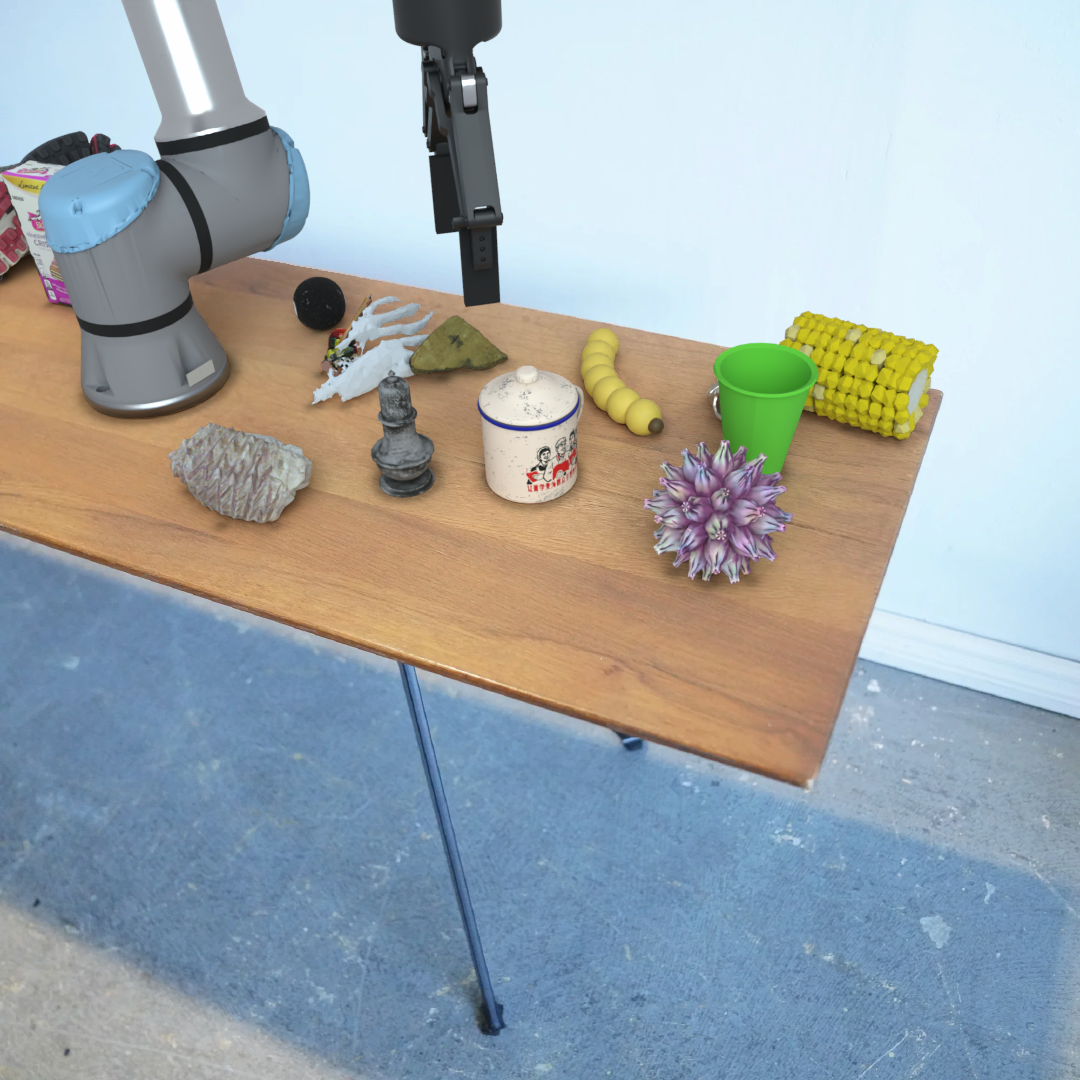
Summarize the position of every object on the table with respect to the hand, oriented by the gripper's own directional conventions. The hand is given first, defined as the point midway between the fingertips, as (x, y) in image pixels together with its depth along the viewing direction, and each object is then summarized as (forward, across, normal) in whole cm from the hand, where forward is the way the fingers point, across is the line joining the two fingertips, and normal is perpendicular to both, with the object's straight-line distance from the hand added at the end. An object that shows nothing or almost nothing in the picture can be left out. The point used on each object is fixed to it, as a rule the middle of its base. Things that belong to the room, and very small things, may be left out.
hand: (465, 265), depth 83 cm
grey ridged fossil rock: (+22, +3, +22) cm, 31 cm away
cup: (+21, -7, -25) cm, 33 cm away
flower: (+21, -18, -16) cm, 32 cm away
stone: (+22, +19, -1) cm, 29 cm away
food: (+16, -4, -34) cm, 38 cm away
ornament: (+20, +3, -28) cm, 35 cm away
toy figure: (+17, +21, +10) cm, 29 cm away
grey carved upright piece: (+21, +1, +7) cm, 23 cm away
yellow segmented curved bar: (+21, +10, -16) cm, 28 cm away
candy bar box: (+22, +48, +39) cm, 66 cm away
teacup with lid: (+21, -1, -6) cm, 22 cm away
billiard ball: (+22, +34, +12) cm, 42 cm away
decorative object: (+22, +21, +4) cm, 30 cm away
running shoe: (+13, +61, +49) cm, 79 cm away
